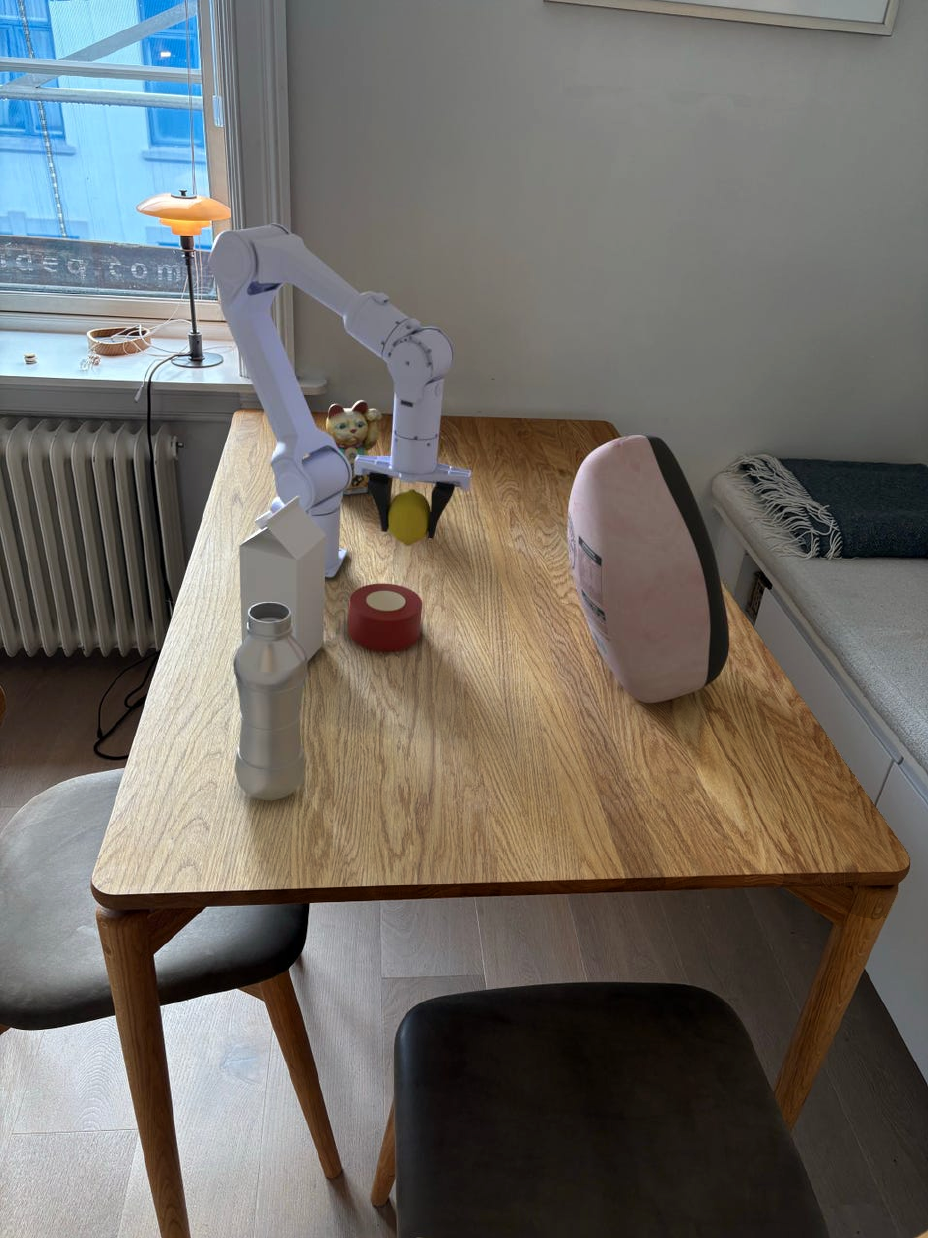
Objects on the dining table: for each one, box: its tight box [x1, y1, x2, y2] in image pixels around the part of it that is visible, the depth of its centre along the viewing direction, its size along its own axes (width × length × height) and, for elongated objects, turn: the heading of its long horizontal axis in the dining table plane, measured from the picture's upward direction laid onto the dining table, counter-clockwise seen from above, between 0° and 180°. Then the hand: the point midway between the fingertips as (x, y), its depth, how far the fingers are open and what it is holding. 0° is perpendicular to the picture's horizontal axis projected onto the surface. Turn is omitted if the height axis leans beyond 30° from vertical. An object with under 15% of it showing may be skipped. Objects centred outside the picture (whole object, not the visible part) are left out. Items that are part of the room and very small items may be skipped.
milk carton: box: [238, 496, 326, 662], centre depth 108 cm, size 7×7×19 cm
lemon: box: [388, 488, 431, 547], centre depth 122 cm, size 6×6×8 cm
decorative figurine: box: [325, 399, 383, 495], centre depth 152 cm, size 10×8×15 cm
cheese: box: [347, 582, 423, 653], centre depth 118 cm, size 9×9×5 cm
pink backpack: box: [566, 434, 730, 704], centre depth 109 cm, size 22×20×30 cm
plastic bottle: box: [232, 602, 309, 801], centre depth 88 cm, size 6×7×20 cm
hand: (408, 531), depth 123 cm, fingers closed on lemon, 5 cm apart
